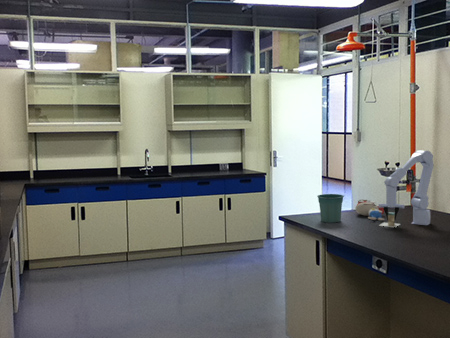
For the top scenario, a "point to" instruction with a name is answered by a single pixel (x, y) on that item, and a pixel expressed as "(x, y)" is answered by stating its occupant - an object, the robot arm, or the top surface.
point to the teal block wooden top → (391, 218)
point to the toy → (369, 209)
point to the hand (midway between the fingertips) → (391, 219)
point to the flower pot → (330, 207)
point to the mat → (389, 226)
